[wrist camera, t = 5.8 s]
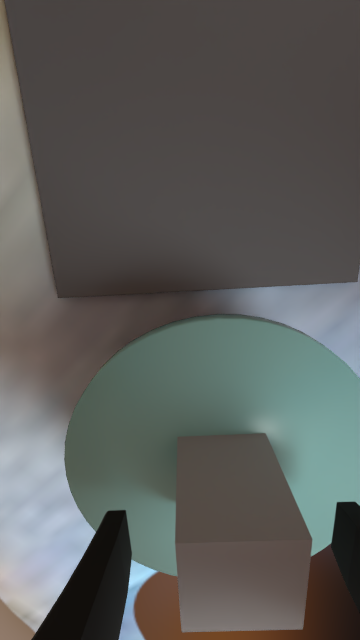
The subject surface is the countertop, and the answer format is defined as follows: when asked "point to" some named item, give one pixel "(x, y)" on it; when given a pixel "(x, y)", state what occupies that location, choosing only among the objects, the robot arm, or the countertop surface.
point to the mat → (193, 141)
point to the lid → (221, 461)
